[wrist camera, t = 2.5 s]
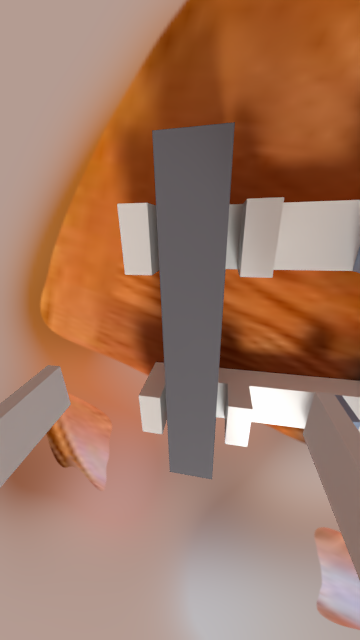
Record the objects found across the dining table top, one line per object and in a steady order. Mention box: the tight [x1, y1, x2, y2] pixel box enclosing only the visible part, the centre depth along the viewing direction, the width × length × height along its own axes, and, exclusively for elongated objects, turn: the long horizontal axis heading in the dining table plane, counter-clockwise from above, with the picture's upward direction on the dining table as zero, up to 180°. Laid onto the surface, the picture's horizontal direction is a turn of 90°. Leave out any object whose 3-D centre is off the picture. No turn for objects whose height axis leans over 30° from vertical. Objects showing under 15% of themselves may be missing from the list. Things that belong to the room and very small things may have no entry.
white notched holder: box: [117, 197, 360, 447], centre depth 18 cm, size 20×26×6 cm
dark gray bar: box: [152, 122, 235, 479], centre depth 18 cm, size 26×4×4 cm, turn 1°
